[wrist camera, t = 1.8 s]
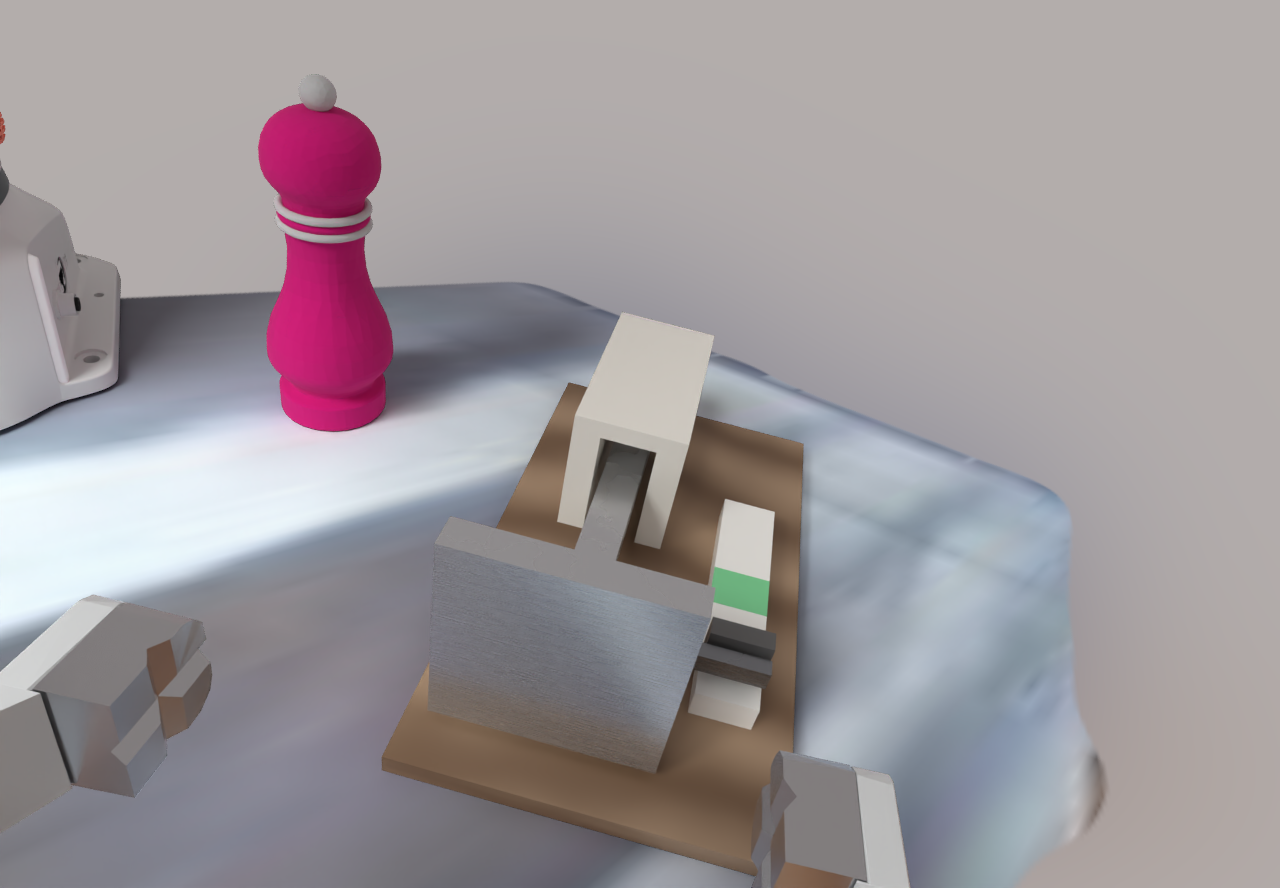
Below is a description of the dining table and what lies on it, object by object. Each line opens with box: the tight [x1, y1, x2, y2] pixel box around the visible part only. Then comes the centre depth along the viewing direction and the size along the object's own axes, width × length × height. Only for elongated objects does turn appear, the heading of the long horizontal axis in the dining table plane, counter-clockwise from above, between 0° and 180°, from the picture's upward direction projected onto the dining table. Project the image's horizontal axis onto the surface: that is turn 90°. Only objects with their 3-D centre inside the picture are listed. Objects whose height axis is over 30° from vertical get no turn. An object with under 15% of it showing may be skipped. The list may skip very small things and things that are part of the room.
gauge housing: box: [557, 312, 714, 549], centre depth 48 cm, size 12×6×8 cm, turn 169°
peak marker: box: [704, 617, 776, 661], centre depth 37 cm, size 1×3×2 cm, turn 79°
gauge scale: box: [688, 499, 775, 730], centre depth 42 cm, size 14×3×2 cm, turn 169°
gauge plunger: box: [428, 442, 773, 774], centre depth 39 cm, size 20×14×10 cm
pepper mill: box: [258, 74, 393, 431], centre depth 46 cm, size 7×7×20 cm
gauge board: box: [382, 383, 803, 876], centre depth 45 cm, size 30×17×1 cm, turn 169°
